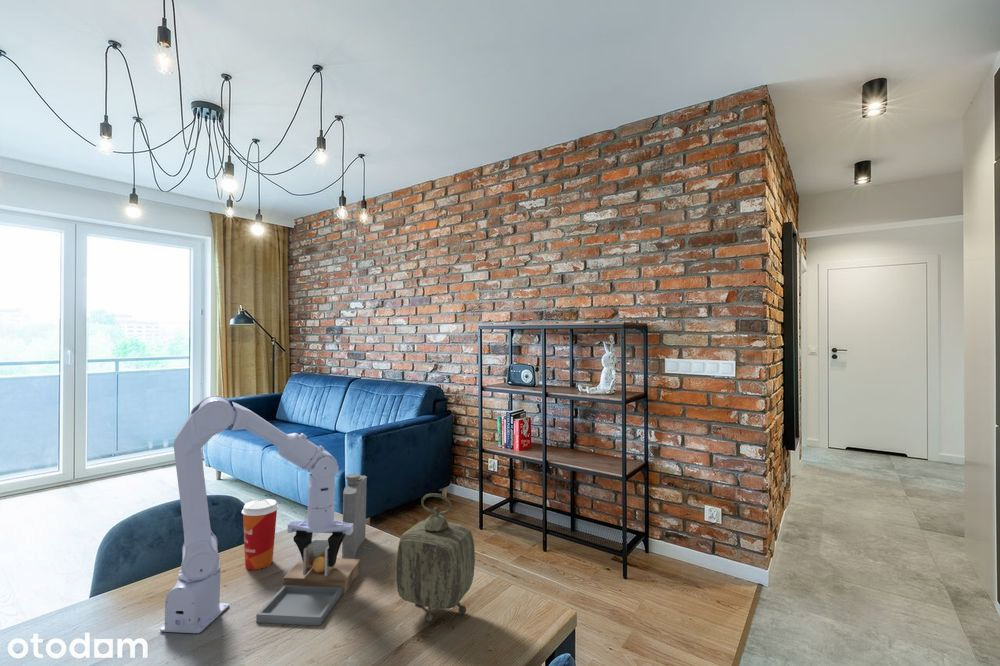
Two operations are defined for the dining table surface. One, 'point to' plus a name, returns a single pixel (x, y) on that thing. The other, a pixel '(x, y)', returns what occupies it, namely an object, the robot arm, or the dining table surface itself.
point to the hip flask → (354, 513)
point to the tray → (300, 605)
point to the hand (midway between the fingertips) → (319, 564)
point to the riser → (337, 577)
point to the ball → (319, 564)
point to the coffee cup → (259, 532)
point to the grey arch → (316, 555)
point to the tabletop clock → (435, 562)
